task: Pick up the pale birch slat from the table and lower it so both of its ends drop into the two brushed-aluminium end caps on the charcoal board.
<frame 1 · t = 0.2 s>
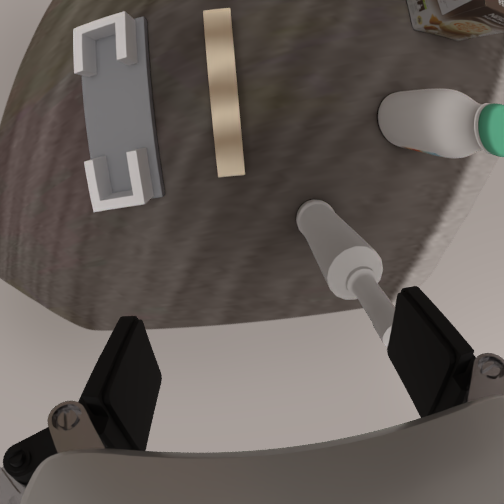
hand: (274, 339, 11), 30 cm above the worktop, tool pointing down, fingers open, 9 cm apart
cap board: (120, 110, 34), on the worktop
bottle: (313, 216, 41), on the worktop
coffee box: (432, 18, 29), on the worktop
milk bottle: (400, 119, 36), on the worktop
slat: (225, 92, 34), on the worktop
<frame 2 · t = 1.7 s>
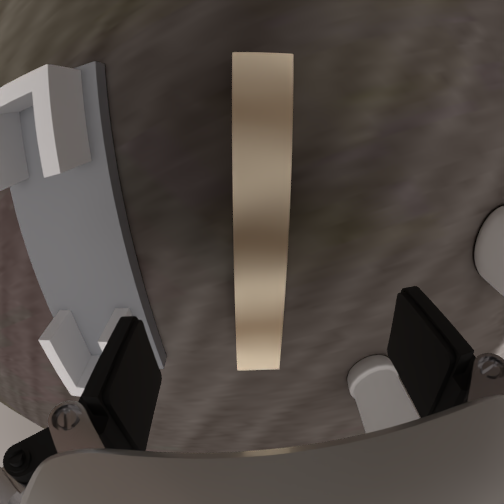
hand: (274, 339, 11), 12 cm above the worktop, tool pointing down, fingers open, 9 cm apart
cap board: (78, 237, 21), on the worktop
bottle: (368, 370, 28), on the worktop
milk bottle: (497, 240, 23), on the worktop
slat: (256, 214, 21), on the worktop
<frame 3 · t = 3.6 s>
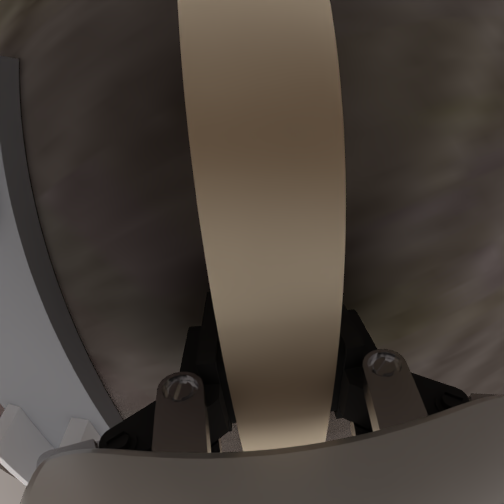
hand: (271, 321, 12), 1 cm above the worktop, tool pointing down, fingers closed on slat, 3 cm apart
cap board: (11, 322, 12), on the worktop
slat: (270, 309, 12), on the worktop, touching gripper
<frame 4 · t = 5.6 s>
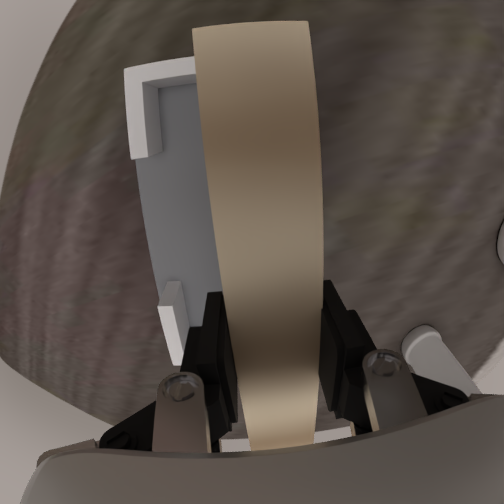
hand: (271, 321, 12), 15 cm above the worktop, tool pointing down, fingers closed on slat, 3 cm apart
cap board: (200, 212, 26), on the worktop
bottle: (417, 339, 33), on the worktop
slat: (266, 287, 14), point 13 cm above the worktop, touching gripper
when the fingers open (5 cm above the worktop, at t = 7.8 s): slat stays where it is, resting on cap board.
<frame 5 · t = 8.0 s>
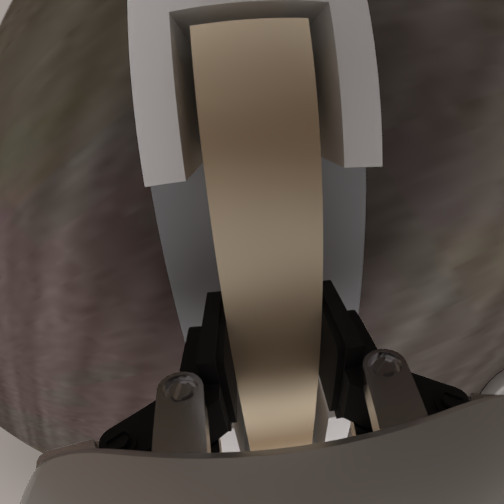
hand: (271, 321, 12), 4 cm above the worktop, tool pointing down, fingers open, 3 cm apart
cap board: (265, 265, 15), on the worktop
bottle: (495, 383, 22), on the worktop
slat: (266, 286, 14), point 1 cm above the worktop, touching cap board, gripper
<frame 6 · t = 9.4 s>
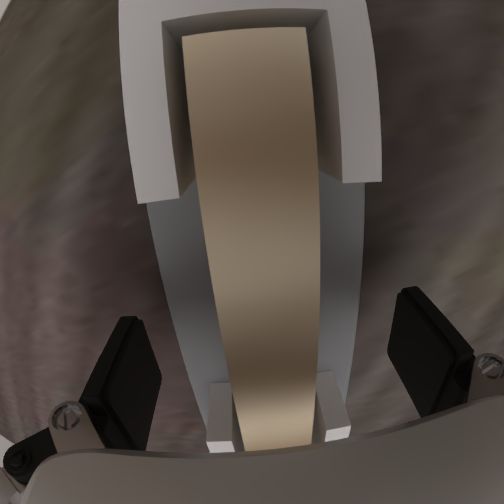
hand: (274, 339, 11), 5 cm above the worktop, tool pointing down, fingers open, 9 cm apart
cap board: (263, 278, 15), on the worktop
slat: (263, 299, 14), point 1 cm above the worktop, touching cap board
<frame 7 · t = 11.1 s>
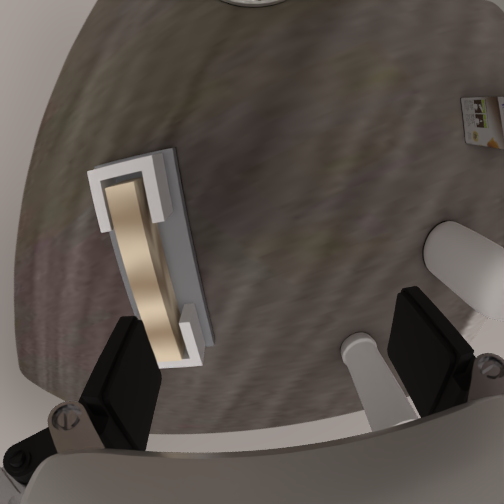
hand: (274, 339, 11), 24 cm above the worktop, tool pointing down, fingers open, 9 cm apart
cap board: (157, 258, 35), on the worktop
bottle: (355, 344, 41), on the worktop
coffee box: (483, 122, 30), on the worktop
milk bottle: (443, 246, 36), on the worktop
slat: (154, 266, 34), point 1 cm above the worktop, touching cap board
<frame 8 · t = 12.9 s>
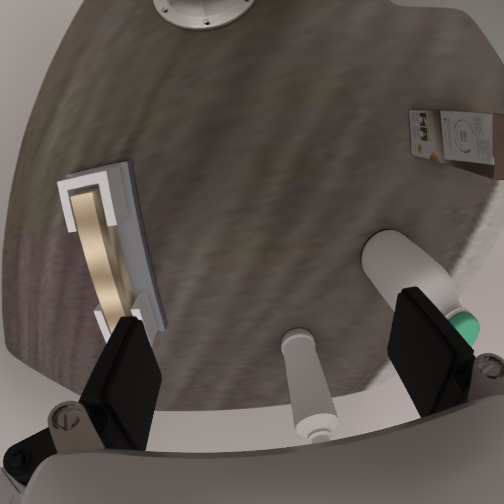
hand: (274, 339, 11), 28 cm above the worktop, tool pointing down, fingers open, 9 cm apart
cap board: (118, 253, 39), on the worktop
bottle: (296, 339, 46), on the worktop
coffee box: (435, 133, 35), on the worktop
milk bottle: (383, 253, 41), on the worktop
slat: (114, 260, 38), point 1 cm above the worktop, touching cap board
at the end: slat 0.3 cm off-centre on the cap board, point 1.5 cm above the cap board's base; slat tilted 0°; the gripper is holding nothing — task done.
